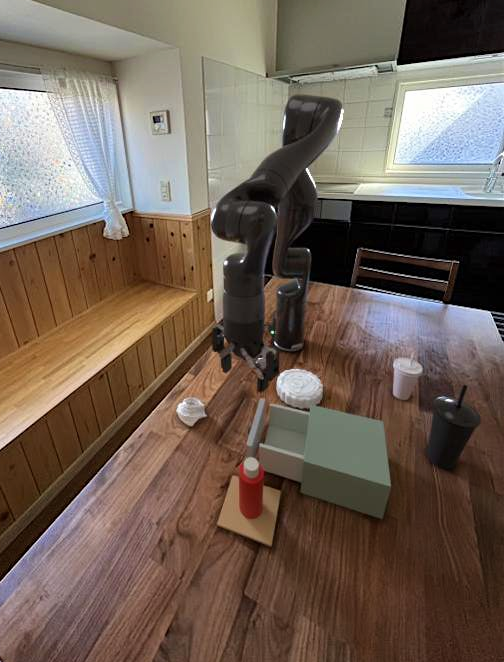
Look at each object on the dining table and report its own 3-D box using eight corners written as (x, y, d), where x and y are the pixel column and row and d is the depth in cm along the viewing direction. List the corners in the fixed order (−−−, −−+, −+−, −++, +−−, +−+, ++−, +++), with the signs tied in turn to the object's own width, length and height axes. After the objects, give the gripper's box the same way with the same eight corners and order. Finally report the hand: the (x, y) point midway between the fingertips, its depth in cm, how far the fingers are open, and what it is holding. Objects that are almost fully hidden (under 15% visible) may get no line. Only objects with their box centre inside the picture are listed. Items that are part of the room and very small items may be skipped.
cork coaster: (217, 525, 62) (216, 524, 61) (232, 476, 70) (232, 474, 70) (271, 547, 58) (271, 545, 58) (281, 492, 67) (281, 490, 66)
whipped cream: (172, 417, 86) (168, 403, 84) (190, 400, 90) (186, 386, 88) (194, 432, 81) (191, 417, 79) (212, 413, 85) (209, 399, 83)
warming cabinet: (300, 492, 66) (303, 461, 63) (307, 433, 79) (310, 404, 75) (382, 519, 61) (391, 486, 58) (376, 451, 74) (383, 421, 70)
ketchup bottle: (234, 507, 64) (233, 464, 59) (248, 490, 67) (249, 448, 62) (252, 524, 61) (253, 481, 56) (267, 506, 64) (269, 463, 59)
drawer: (240, 467, 71) (240, 443, 68) (255, 419, 82) (255, 396, 79) (313, 490, 66) (316, 465, 63) (317, 435, 77) (320, 412, 74)
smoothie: (418, 405, 85) (431, 360, 79) (391, 402, 86) (401, 358, 80) (409, 387, 90) (420, 344, 85) (384, 384, 92) (393, 342, 86)
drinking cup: (411, 445, 75) (431, 374, 67) (443, 441, 75) (468, 370, 67) (436, 478, 68) (462, 403, 60) (471, 473, 68) (502, 398, 60)
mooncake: (291, 371, 99) (292, 361, 97) (330, 391, 91) (331, 380, 89) (267, 393, 91) (268, 382, 90) (307, 417, 83) (308, 406, 82)
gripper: (200, 306, 62) (205, 374, 69) (265, 334, 53) (263, 409, 60) (226, 291, 67) (227, 356, 74) (289, 314, 58) (285, 386, 65)
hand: (243, 380), depth 67 cm, fingers open, 8 cm apart
